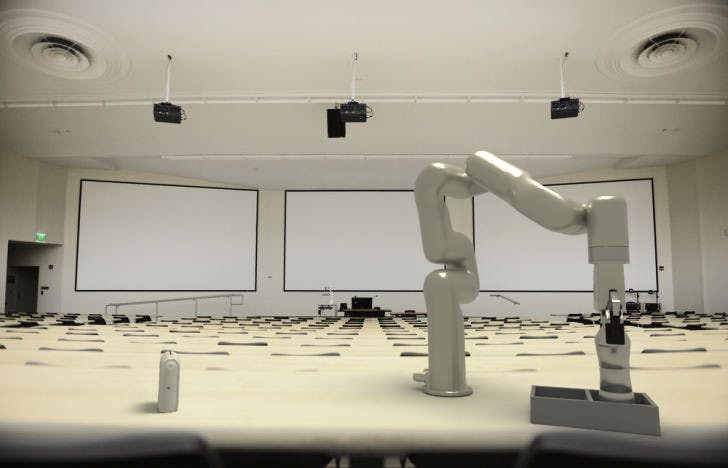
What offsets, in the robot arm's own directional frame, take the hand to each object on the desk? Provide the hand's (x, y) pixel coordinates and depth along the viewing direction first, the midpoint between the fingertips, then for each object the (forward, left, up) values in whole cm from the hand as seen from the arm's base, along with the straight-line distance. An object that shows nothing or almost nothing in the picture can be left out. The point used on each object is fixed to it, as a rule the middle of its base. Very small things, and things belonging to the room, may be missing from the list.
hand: (611, 341), depth 93 cm
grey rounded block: (-93, -22, -16) cm, 97 cm away
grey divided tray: (-5, 0, -16) cm, 17 cm away
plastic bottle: (0, +2, -15) cm, 15 cm away
